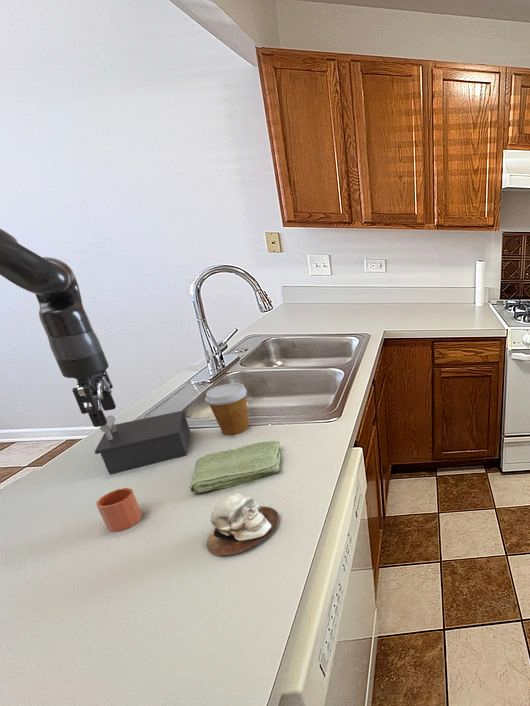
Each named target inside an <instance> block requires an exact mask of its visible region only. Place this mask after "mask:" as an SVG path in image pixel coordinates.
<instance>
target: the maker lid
mask: <svg viewBox="0 0 530 706" xmlns="http://www.w3.org/2000/svg"><path fill="white" fill-rule="evenodd" d="M184 413H185V411H184V410H179V411H175V412H169V413H164V414H159V415H154V416H150V417H145V418H141V419H136V420H130V421H125V422H121V423H115V421H116V417H115V416H114V415H106V416H105V418H106V420H107V424H106V425H104V426H99V430H100V431H101V432H103V435H102V436H101V439H100V440H99V442H98V444H97V445H96V448H95V450H94V454H95V455H98V454H99V455H100V454H101V453H103V452H108V451H112V450H116V449H121V448H125V447H130V446H134V445H138V444H143V443H147V442H151V441H156V440H160V439H164V438H169V437H173V436H178V435H180V431H181V426H182V422H183V417H184Z"/></svg>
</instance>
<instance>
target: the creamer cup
mask: <svg viewBox="0 0 530 706" xmlns="http://www.w3.org/2000/svg"><path fill="white" fill-rule="evenodd" d="M96 507H97V510H98V512H99V514H100V516H101V519H102V520H103V523H104V525H105V527H106V529H107V530H108V531H109V532H110V533H118V532H123V531H126V530H128V529H131V528H132V527H134V526H135V525H137V524H138V523H139V522H140V521H141V520H142V519H143V513H142V511H141V508H140V505H139V503H138V501H137V498H136V495H135V494H134V491H133V489H132V488H128V487H124V488H117V489H115V490H112V491H110V492H108V493H106V494H104V495H103V496H101V497H100V498H99V499H98V500H97V501H96Z"/></svg>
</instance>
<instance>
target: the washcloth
mask: <svg viewBox="0 0 530 706" xmlns="http://www.w3.org/2000/svg"><path fill="white" fill-rule="evenodd" d="M279 447H280V441H279V440H269V441H260V442H259V441H258V442H255V443H251V444H247V445H242V446H239V447H236V448H233V449H232V448H231V449H228V450H220V451H217V452H213V453H208V454H205V455H203V456H201V457H199V458H198V459H197V460H196V461H195V469H194V472H195V473H194V474H195V475H194V476H193V477H192V479H191V481H190V485H189V491H190V493H192V494H203V493H206V492H209V491H213V490H218V489H219V490H220V489H223V490H224V489H227V488H230V487H233V486H236V485H237V486H238V485H240V484H243V483H248V482H250V481H254V480H256V479H257V480H258V479H260V478H263V477H266V476H269V475H273V474H276V473H278V472H280V461H281V453H280V451H279V450H280V449H279Z"/></svg>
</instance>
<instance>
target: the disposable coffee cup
mask: <svg viewBox="0 0 530 706" xmlns="http://www.w3.org/2000/svg"><path fill="white" fill-rule="evenodd" d="M247 393H248V390H247V388H246V387H245V386H244V385H243V384H242V383H237V382H235V383H234V382H233V383H225V384H221V385H217V386H215V387H212V388H210V389H209V390H208V391H207V392H206V393H205V398H204V400H205V402H206V403H207V404H208V405H209V407H210V409H211V411H212V414H213V416H214V418H215V420H216V422H217V424H218V427H219V428H220V430H221V433H222V434H223V435H225V436H236V435H239V434H241V433H243V432H245V431H247V430H248V429H249V426H250V425H249V414H248V405H247V404H248V403H247Z"/></svg>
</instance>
